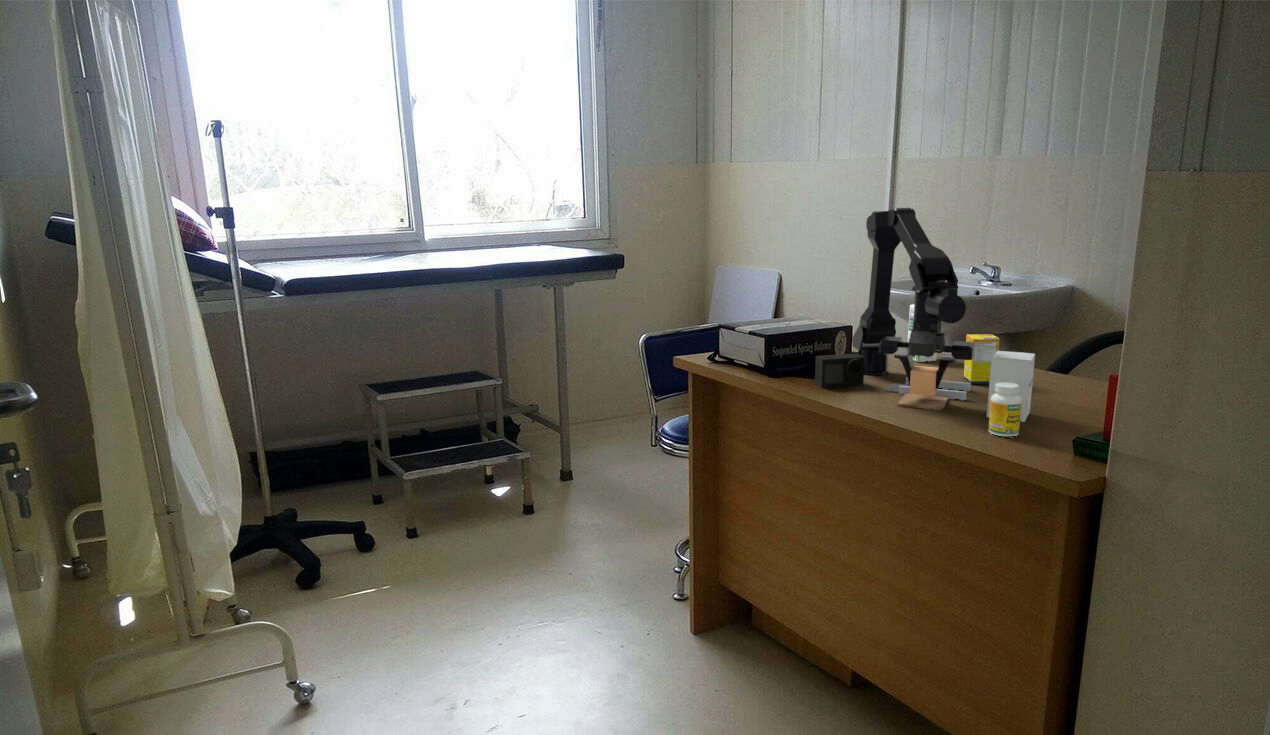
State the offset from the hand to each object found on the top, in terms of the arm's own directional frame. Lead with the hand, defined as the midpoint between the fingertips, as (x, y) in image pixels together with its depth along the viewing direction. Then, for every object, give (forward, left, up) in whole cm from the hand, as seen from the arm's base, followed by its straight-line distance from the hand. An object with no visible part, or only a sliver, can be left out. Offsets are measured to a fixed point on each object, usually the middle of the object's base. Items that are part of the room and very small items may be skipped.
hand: (923, 387), depth 176 cm
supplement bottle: (+17, -16, -4) cm, 24 cm away
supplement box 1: (+9, +24, -4) cm, 26 cm away
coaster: (0, 0, -4) cm, 4 cm away
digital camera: (-20, +8, -4) cm, 22 cm away
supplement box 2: (+17, -3, -4) cm, 18 cm away
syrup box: (-7, +43, -4) cm, 44 cm away
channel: (+1, +10, -4) cm, 11 cm away
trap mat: (-6, +10, -4) cm, 12 cm away
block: (0, 0, -1) cm, 1 cm away
